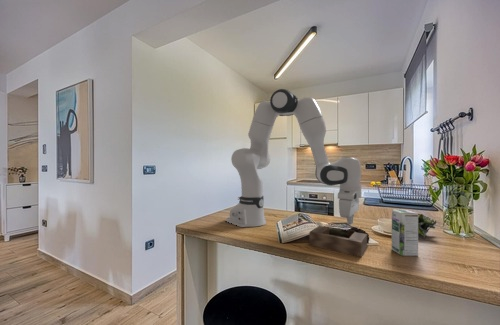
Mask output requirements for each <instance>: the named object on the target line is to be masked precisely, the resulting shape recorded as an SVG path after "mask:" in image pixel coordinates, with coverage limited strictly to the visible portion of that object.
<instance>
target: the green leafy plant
mask: <svg viewBox="0 0 500 325" xmlns="http://www.w3.org/2000/svg"><path fill="white" fill-rule="evenodd" d="M435 225H437V220H435V219H433V218H432V219H431V217H430V216H426V215H425V214H423V213H418V234H419V235H422V237H423V238H422V240H425V237H426V235H427V233H429V231H430V229H434V230H435V229H436V226H435Z"/></svg>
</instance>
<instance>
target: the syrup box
mask: <svg viewBox="0 0 500 325" xmlns="http://www.w3.org/2000/svg"><path fill="white" fill-rule="evenodd" d="M418 214H419V212H414V211H411V210H408V209H403V208H401V209H400V208H395V209H391V250H392V251H394V252H396V253H397V254H398V255H400V257H401V256H403V257H405V256H406V257H415V256H416V257H418V256H419V233H418Z"/></svg>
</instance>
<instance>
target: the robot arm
mask: <svg viewBox="0 0 500 325" xmlns="http://www.w3.org/2000/svg"><path fill="white" fill-rule="evenodd" d="M293 115H294V116H295V118H296V120H297V123H298V125H299V128H300V131H301V133H302V136H304V139H305V140H306V142H307V144H308V146H309V148H310V151H311V154H312V156H313V159H314V163H315V178H316V180H317V181H318V182H319V183H321V184H322V185H327V186H337V185H339V191H338V193H337V199H338V211H339V212H338V213H339V216H340V217H341V218H344V219H346V223H347V225H352V224H354V217H355V213H357V212H358V211H359V209H360V199H361V198H362V183H361V179H362V165H361V161H360V160H359V159H358V158H356V157H352V156H351V157H350V156H342V157H341V158H339V159H337V160H335V161H333V162H330V160H329V158H328V155H327V154H328V153H327V151H326V148H325V141H324V140H325V136H326V133H327V127H326V121H325V118H324V115H323V114H322V111H321V108H320V107H319V105H318V103H317V102H316V99H314V98H313V97H311V96H309V97H308V96H306V97H302V98H298V97H297V95H295V94H294V92H292V91H291V90H288V89H285V88H280V89H277V90H275V91H273V93H272V94H271V97H270V99H269V100H263V101H261V102H259V104H258V106H257V107H256V109H255V111H254V113H253V117H252V121H251V123H250V126H249V131H248V135H247V136H248V138H249V139H250V147H249V148H245V147H244V148H238V149H236V150H234V151H233V152H232V155H231V159H230V161H231V164H232V166H233V167H234V168H235V169H236V171H237V173H238V175H239V179H240V183H241V184H240V185H241V196H238V197H237V200H239V202H238V203H237V204H236V205H235V206H233V207H232V208H231V209H230V210H229V217H227V218H225V220H224V222H225V221H227V222H226V223H228V222H229V223H228V224H231V223H232V224H231V225H234V226H236V225H237V227H239V228H247V227H249V228H250V227H251V228H252V227H253V228H254V227H260V226H264V225H266V224H267V221H266V218H265V217H266V216H265V211H264V204H265V203H264V195H263V192H264V191H263V190H264V189H263V184H264V183H263V180H262V178H260V176H259V173H258V170H262V169H264V168H266V167H268V165H269V164H270V162H271V155H270V154H269V142H270V138H271V136H272V135H271V134H272V131H273V128H274V125H275V121H276V119H277V118H278V117H289V116H293Z"/></svg>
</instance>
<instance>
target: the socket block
mask: <svg viewBox="0 0 500 325" xmlns="http://www.w3.org/2000/svg"><path fill="white" fill-rule="evenodd" d="M323 226H324V225H323ZM323 226H322V225H318V226H317V227H315V228H313V229H312V230H310V231H309V232H308V234H309V239H308V240H309V243H308V244H309V246H311V247H312V246H313V247H315V248H321V249H325V250H328V251H332V252H333V251H334V252H336V253H337V252H338V253H342V254H346V255H350V256H354V257H357V258H362V257H363V256H364V254H365V252H366V251H367V249H368V244H367V234H363V233H357V232H354V233H353V234H352V235H351V237H350V238H344V237H339V236H334V235H329V227H330V226H326V227H323Z"/></svg>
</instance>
